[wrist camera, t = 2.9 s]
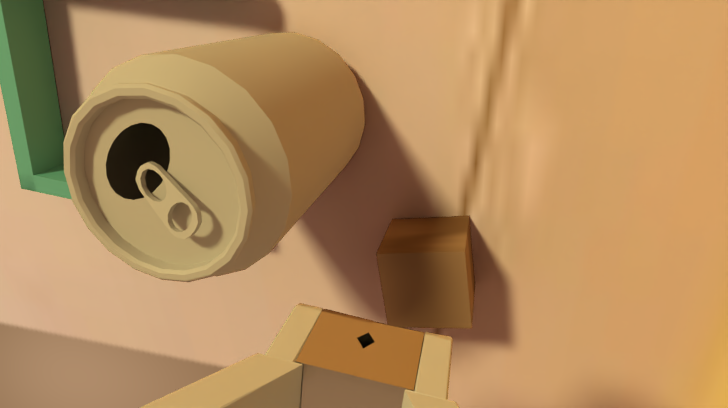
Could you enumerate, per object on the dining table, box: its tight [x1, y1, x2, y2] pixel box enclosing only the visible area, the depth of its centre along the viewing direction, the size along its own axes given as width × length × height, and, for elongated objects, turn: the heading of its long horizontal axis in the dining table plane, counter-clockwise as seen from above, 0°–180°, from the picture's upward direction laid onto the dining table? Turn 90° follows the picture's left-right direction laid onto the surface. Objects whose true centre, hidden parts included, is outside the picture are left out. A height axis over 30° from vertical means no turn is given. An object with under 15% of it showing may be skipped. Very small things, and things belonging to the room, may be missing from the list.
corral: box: [0, 0, 72, 199], centre depth 26 cm, size 13×13×2 cm
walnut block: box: [376, 216, 475, 328], centre depth 25 cm, size 4×4×4 cm
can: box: [63, 32, 365, 282], centre depth 20 cm, size 8×8×12 cm
